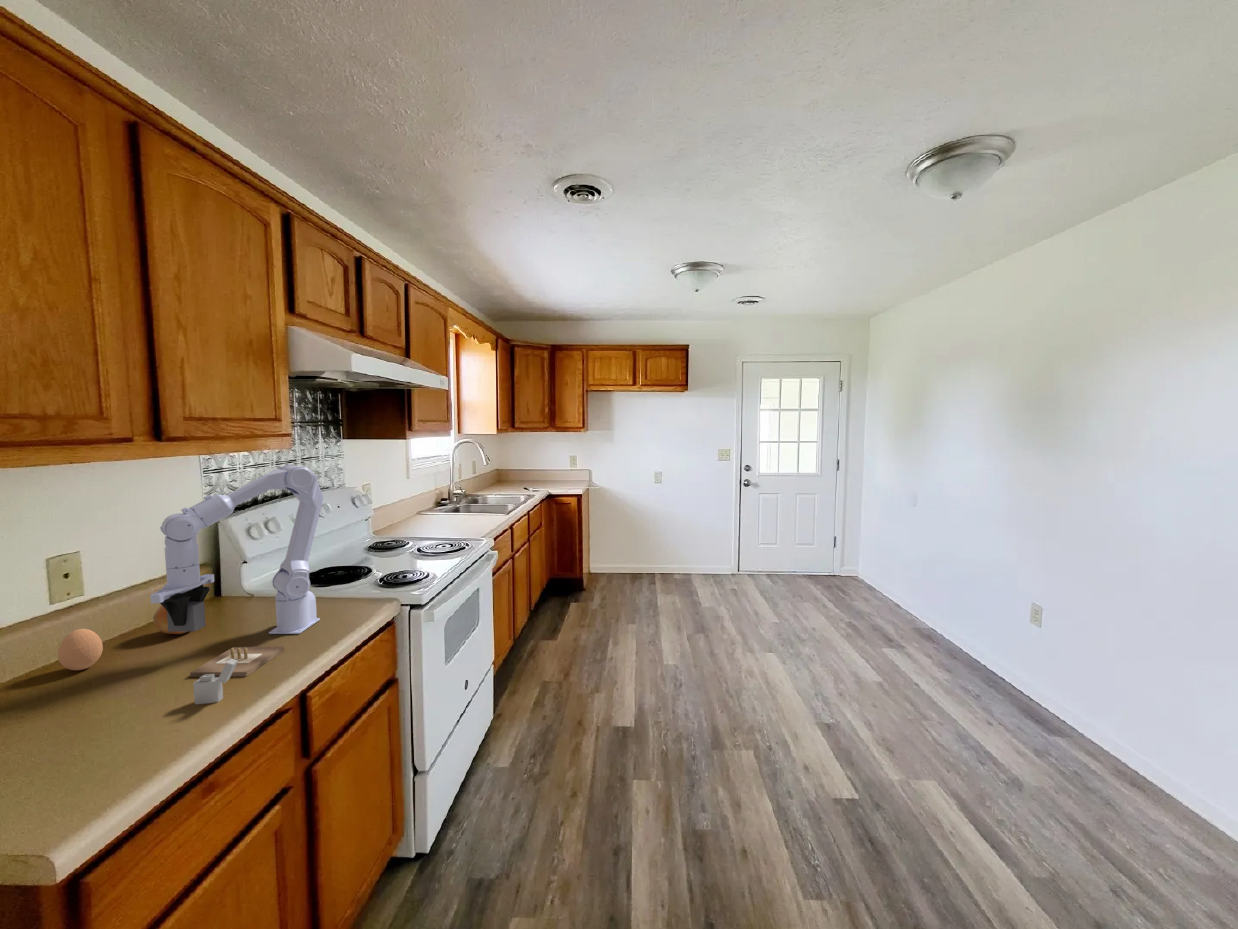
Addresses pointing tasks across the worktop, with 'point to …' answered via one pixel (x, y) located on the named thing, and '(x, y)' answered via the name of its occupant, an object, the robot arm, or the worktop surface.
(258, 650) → the board
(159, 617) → the onion
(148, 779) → the worktop surface
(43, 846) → the worktop surface
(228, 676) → the lighter
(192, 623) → the block
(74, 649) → the egg
